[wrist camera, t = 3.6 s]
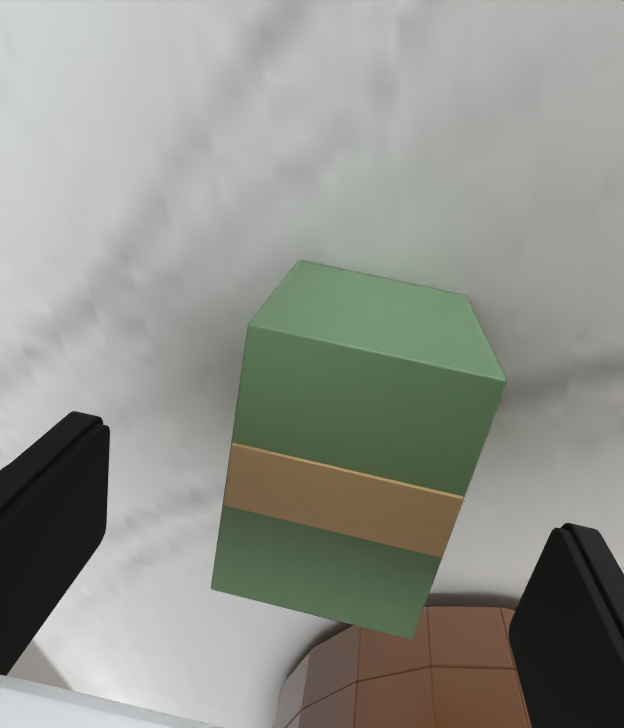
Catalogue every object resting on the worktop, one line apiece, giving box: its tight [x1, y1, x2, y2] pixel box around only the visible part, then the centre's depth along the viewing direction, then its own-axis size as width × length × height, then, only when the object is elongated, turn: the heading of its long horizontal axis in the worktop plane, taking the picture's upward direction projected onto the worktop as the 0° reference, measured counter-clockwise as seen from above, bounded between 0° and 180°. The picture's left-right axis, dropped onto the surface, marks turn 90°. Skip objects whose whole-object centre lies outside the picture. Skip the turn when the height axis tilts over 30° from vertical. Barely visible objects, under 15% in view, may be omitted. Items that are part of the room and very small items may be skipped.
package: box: [211, 260, 507, 639], centre depth 14 cm, size 5×7×6 cm
